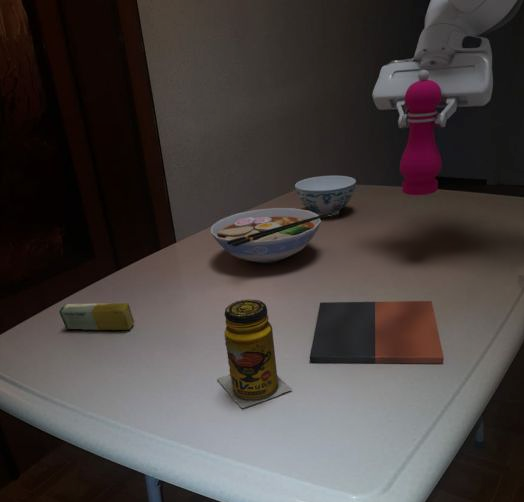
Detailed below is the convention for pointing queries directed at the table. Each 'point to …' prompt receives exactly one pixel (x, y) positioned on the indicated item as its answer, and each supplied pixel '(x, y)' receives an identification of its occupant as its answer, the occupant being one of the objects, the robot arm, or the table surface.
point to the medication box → (97, 316)
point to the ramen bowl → (266, 233)
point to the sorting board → (376, 333)
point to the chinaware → (325, 193)
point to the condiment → (250, 354)
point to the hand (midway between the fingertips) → (421, 125)
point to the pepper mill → (421, 138)
